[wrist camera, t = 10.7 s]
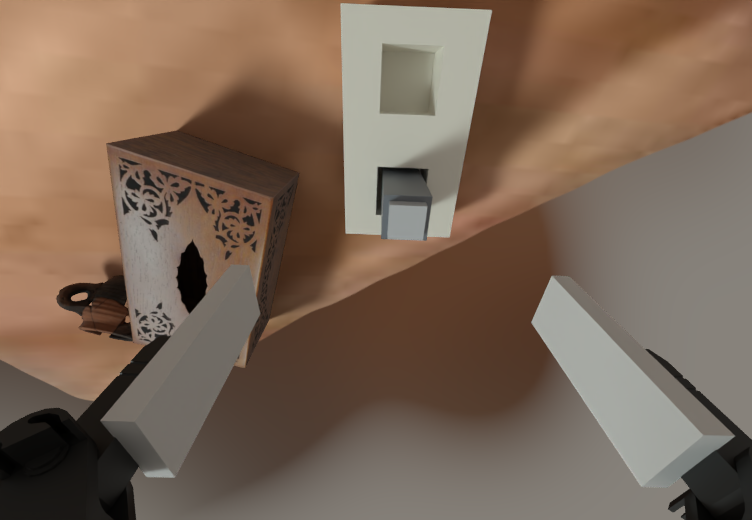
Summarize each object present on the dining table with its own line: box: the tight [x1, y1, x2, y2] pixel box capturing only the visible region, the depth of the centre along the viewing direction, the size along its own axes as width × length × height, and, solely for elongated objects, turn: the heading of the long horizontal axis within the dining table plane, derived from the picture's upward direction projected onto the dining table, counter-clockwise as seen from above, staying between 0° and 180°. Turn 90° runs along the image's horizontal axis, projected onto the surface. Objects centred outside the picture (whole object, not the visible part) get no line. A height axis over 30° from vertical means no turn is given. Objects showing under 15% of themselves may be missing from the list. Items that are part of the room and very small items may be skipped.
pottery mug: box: [57, 276, 133, 341], centre depth 43 cm, size 12×10×8 cm
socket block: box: [341, 3, 492, 237], centre depth 30 cm, size 12×20×6 cm, turn 178°
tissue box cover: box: [106, 131, 299, 368], centre depth 36 cm, size 26×14×10 cm, turn 161°
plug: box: [381, 167, 433, 241], centre depth 29 cm, size 4×4×13 cm
